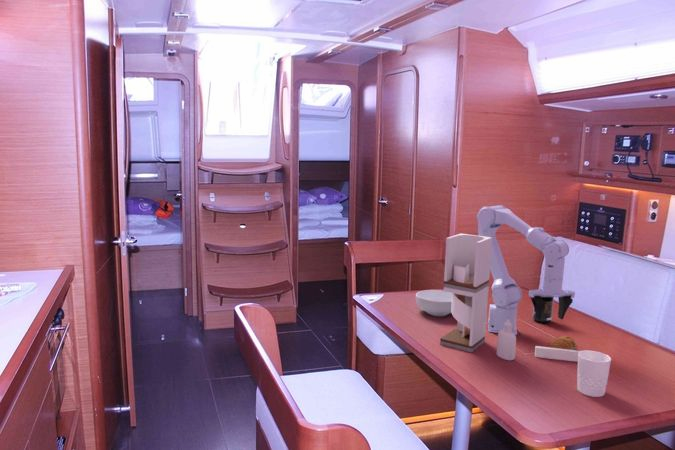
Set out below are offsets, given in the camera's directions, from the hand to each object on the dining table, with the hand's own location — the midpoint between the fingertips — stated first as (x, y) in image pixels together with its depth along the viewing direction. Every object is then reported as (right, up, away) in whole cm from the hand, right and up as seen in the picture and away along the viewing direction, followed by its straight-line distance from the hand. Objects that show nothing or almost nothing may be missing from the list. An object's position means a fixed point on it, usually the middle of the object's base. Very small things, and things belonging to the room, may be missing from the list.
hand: (549, 318), depth 177 cm
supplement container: (+7, -5, +24) cm, 26 cm away
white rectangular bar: (-1, -11, -11) cm, 15 cm away
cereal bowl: (-31, -3, +30) cm, 43 cm away
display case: (-28, -8, 0) cm, 30 cm away
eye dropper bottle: (-18, -10, -11) cm, 23 cm away
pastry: (+3, -10, -3) cm, 11 cm away
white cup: (-1, -14, -32) cm, 35 cm away
